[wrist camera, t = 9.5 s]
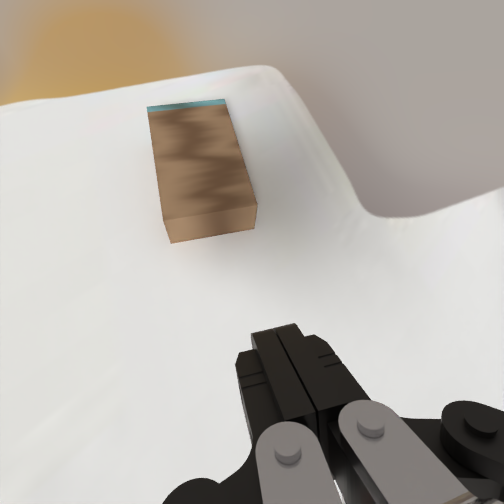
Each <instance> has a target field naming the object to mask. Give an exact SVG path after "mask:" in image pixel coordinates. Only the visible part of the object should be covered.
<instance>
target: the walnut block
mask: <svg viewBox="0 0 504 504" xmlns="http://www.w3.org/2000/svg"><path fill="white" fill-rule="evenodd" d="M147 112H148V119H149V126H150V133H151V140H152V147H153V154H154V160H155V167H156V174H157V181H158V188H159V195H160V202H161V209H162V216H163V221H164V224H165V227H166V230H167V233H168V236H169V239H170V242H171V244H172V243H177V242H183V241H189V240H194V239H200V238H205V237H211V236H217V235H222V234H228V233H233V232H239V231H244V230H250V229H254V226H255V219H256V212H257V202H256V199H255V196H254V192H253V189H252V186H251V183H250V180H249V176H248V173H247V170H246V167H245V164H244V160H243V157H242V154H241V151H240V148H239V144H238V141H237V138H236V135H235V132H234V129H233V125H232V122H231V119H230V116H229V113H228V109H227V106H226V103H225V100H224V99H219V100H209V101H199V102H189V103H179V104H170V105H160V106H150V107H147Z"/></svg>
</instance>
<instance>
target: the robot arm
mask: <svg viewBox="0 0 504 504" xmlns="http://www.w3.org/2000/svg"><path fill="white" fill-rule="evenodd" d="M251 341H252V348H253V349H252V350H248V351H244V352H240V353H239V355H238V358H237V361H236V364H235V367H236V372H237V378H238V383H239V389H240V395H241V400H242V405H243V409H244V414H245V418H246V422H247V427H248V431H249V435H250V439H251V444H252V449H251V452H250V454H249V456H248V458H247V460H246V461H245V463H244V464H243V465H242V466H241V467H240V469H239V470H237V471H236V472H235V473H234V474H232V475H231V476H229V477H228V478H227V479H225V480H224V481H222V482H221V483H220V484H219V483H217V482H215V481H214V480H211V479H207V478H196V479H192V480H189V481H187V482H185V483H183V484H181V485H180V486H178V487H177V488H176V489H174V490H173V491H172V492H171V493H170V494H169V495H168V497H167V498H166V499H165V501H164V502H163V504H504V411H501V410H498V409H495V408H492V407H490V406H487V405H484V404H481V403H477V402H472V401H455V402H452V403H449V404H448V405H446V406H445V408H444V409H443V411H442V416H441V419H410V418H403V417H399V416H398V415H397V414H396V413H395V412H394V411H393V410H392V409H390V408H389V407H387V406H385V405H384V404H381V403H379V402H376V401H372V400H371V399H370V398H369V397H368V395H367V394H366V393H365V391H364V390H363V389H362V387H361V386H360V385H359V383H358V382H357V381H356V380H355V378H354V377H353V376H352V374H351V373H350V372H349V370H348V369H347V368H346V366H345V365H344V364H342V361H341V360H340V359H339V357H338V356H337V355H335V352H334V351H333V349H332V348H331V347H330V346H329V344H328V343H327V342H326V341H324V340H323V339H321V338H319V337H318V336H316V335H310V336H305V337H304V335H303V334H302V332H301V331H300V329H299V328H298V326H297V325H296V324H295V323H293V324H289V325H285V326H280V327H276V328H273V329H268V330H264V331H259V332H255V333H251ZM334 480H336V482H337V485H338V487H339V489H340V491H341V493H342V501H341V499H340V496H339V493H338V491H337V488H336V486H335V483H334Z"/></svg>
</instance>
